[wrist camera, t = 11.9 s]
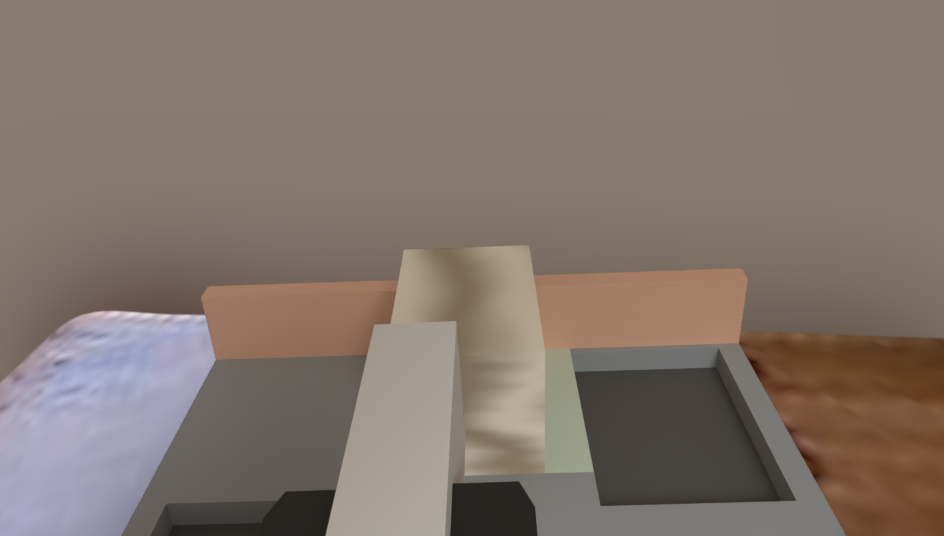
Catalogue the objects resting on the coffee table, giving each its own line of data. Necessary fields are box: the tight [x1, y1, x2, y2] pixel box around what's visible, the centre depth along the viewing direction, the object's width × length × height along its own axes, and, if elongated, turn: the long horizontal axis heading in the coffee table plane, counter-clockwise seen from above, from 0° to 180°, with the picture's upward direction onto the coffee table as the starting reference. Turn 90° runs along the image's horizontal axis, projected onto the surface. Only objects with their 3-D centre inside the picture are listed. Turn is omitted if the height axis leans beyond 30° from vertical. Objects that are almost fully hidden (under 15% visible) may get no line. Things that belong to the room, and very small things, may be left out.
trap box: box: [122, 268, 846, 536], centre depth 39 cm, size 36×30×7 cm
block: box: [391, 245, 545, 476], centre depth 44 cm, size 8×12×8 cm, turn 0°
